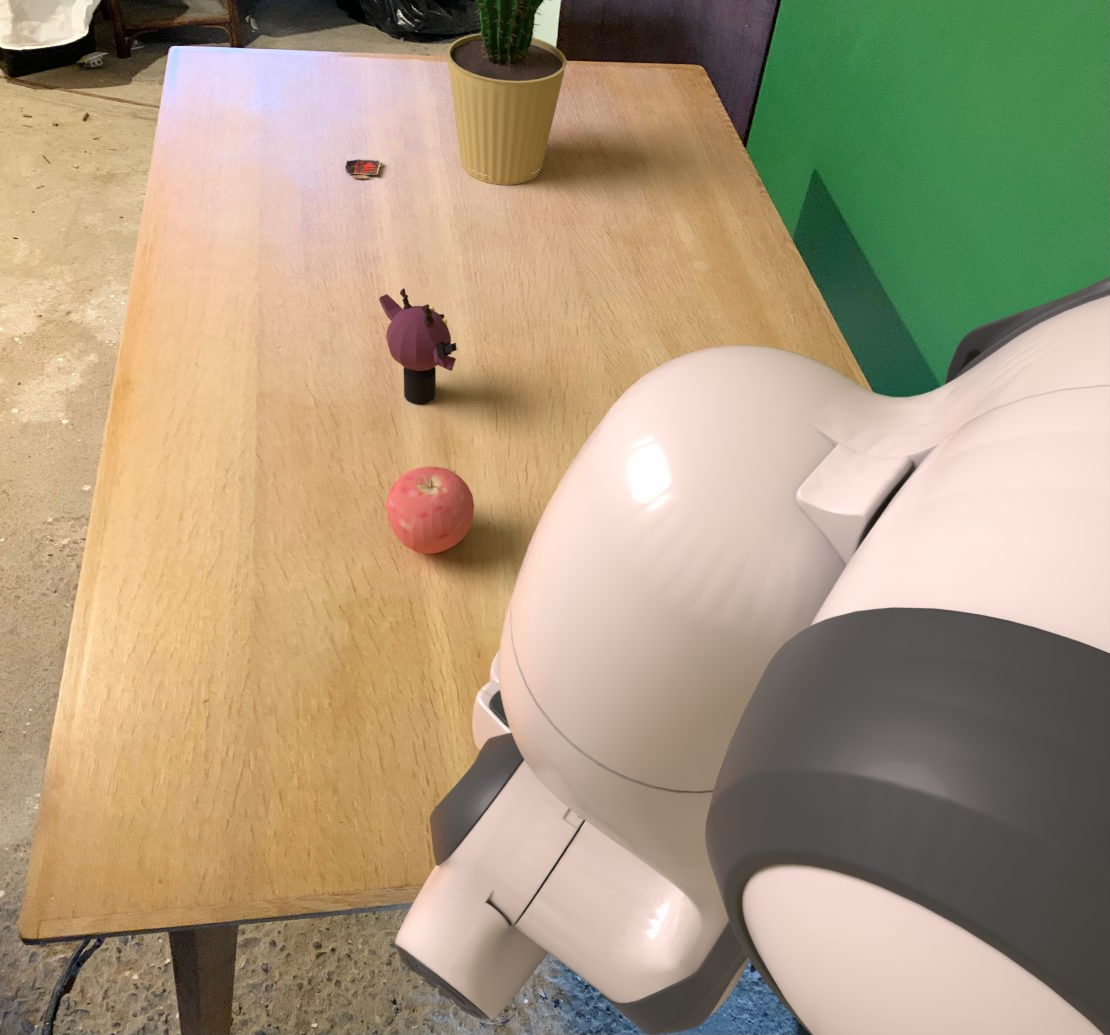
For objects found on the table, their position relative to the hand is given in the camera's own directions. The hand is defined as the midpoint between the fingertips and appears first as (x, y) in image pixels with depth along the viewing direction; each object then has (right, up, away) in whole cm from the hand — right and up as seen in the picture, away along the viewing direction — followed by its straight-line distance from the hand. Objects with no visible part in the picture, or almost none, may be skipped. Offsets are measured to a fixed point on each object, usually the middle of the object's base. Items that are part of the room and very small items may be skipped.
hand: (667, 644), depth 73 cm
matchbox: (-35, +57, +54) cm, 86 cm away
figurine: (-23, +22, +25) cm, 40 cm away
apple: (-20, +8, +12) cm, 24 cm away
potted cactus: (-16, +59, +59) cm, 85 cm away
